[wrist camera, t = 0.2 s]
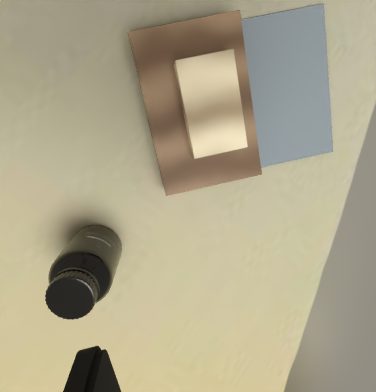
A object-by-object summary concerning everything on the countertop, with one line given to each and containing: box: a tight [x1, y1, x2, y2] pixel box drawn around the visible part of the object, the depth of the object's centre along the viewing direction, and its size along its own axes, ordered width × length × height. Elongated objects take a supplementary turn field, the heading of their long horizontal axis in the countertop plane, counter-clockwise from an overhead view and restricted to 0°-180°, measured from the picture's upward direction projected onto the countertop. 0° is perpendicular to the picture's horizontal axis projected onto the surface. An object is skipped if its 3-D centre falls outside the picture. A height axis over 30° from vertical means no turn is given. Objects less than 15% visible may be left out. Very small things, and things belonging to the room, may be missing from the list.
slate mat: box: [241, 4, 333, 167], centre depth 36 cm, size 18×11×1 cm, turn 12°
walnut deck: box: [128, 10, 262, 196], centre depth 34 cm, size 18×12×4 cm, turn 11°
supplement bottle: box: [45, 226, 122, 320], centre depth 33 cm, size 7×7×12 cm
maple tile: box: [174, 49, 248, 159], centre depth 31 cm, size 10×6×2 cm, turn 11°
